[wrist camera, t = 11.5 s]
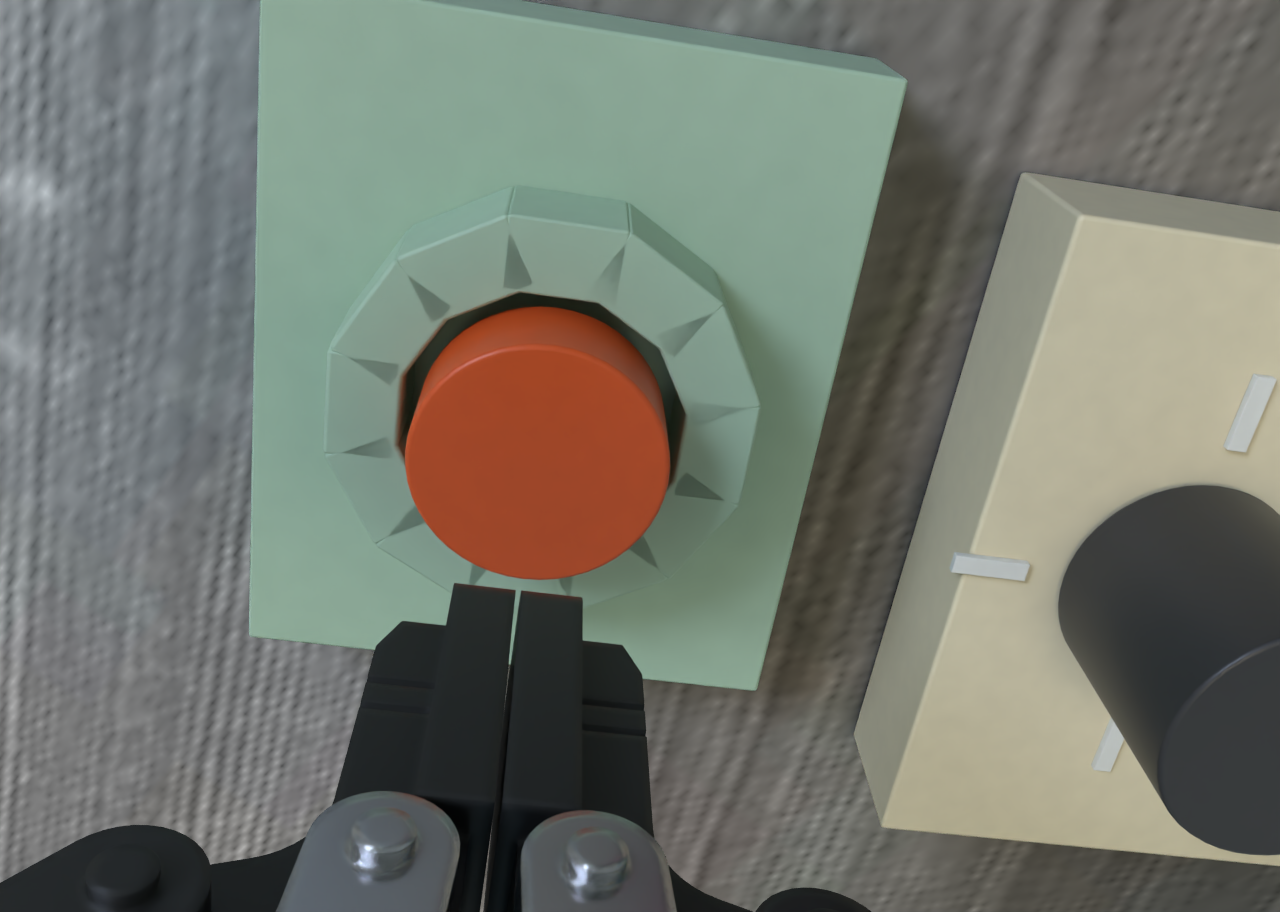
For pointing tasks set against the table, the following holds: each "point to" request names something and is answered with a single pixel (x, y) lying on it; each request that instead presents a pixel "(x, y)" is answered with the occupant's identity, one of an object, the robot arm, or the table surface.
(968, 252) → the table surface
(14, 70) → the table surface
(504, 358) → the power button
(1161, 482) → the dial panel
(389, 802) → the robot arm
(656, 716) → the table surface
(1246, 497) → the dial
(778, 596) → the button base
